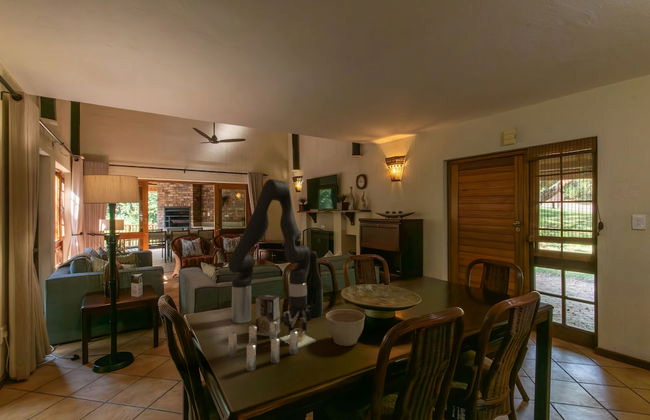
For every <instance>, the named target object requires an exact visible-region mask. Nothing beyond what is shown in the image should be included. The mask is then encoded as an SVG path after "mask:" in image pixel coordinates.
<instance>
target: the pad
mask: <svg viewBox="0 0 650 420" xmlns="http://www.w3.org/2000/svg"><path fill="white" fill-rule="evenodd" d="M279 341H281V342H283V341H284V342H283V343H285V344H287V343H288V345H289V346H290V335H289V334H288V335H285V336H281V337H279ZM316 342H317V339H315V338H312V337H310V336H308V335H306V334H305V339H304V340H303V341H299V342H298V349H300V348H303V347H305V346H308V345H311V344H313V343H316Z"/></svg>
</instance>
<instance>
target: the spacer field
mask: <svg viewBox="0 0 650 420" xmlns="http://www.w3.org/2000/svg"><path fill="white" fill-rule="evenodd" d="M257 336H258V335H257V326H256V324H255V325H250V326H248V344H247V345H246V371H247V372H253V371H255V370H256V368H257V366H256V363H257V359H256V358H257V357H256V356H257V352H256V351H257V347H258V345H257V344H258V337H257ZM270 342H271V343H270ZM269 343H270V363H271V364H278V363H279V362H280V337H278V334H277V321H271V322H270V336H269ZM298 349H299V348H298V331H296V330H292V331H290V345H289V354H290V355H292V356H294V355H297V354H298V353H299V352H298ZM237 350H238V332H236V331H230V332H229V333H228V357H236V356H237V355H238V351H237Z"/></svg>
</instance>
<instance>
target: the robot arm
mask: <svg viewBox="0 0 650 420" xmlns="http://www.w3.org/2000/svg"><path fill="white" fill-rule="evenodd" d="M273 201H278V202H279V204H280V207H281V216H280V223H279V224H280V231H281V233H282V236H283V240H284V257H285V258H286V261H288V263H290V264H296V266H295V267H294V268H291V269H290V270H289V276H288V277H289V285H288V306H289V309H288V310H287V311H283V312H282V318H283V324H284V327H287V328H288V335H290V331H292V330H294V329H295V328H294V327H295V324H296V322H297V320H298V319H300V321H301V323H300V324H301V327H300V328H301V329H304V330H305V333H306V332H307V328H308V327H307V325H308V322H310V321H311V319H312V317H311V313H312V307H311V306H306V304H307V285H306V275H307V272H308V268H309V261H310V252H311V250H310V248H309V247H308V246H307V245H303V244H300V245H296V242H298V241H299V240H300V239H301V233H300V231H299V227H298V224H297V222H296V218H295V213H294V209H293V202H292V195H291V190H290V186H289V184H288V183H287V182H285V181H282V180H279V179H278V180H277V179H272V178H270V179H267V180H266V181H265V183H264V184H263V186H262V188H261V191H260V194H259V197H258V199H257V202H256V205H255V208H253V209H254V210H253V212H252V214H251V216H250V219H248V223H247V225H246V226H245V229H244V230H243V231H244V232H243V233H242V235H241V237H240V239H239V242H238V243H237V244H236V247H235V248H234V249H233V251H232V252H231V254H230V257H229V259H228V261H227V262H228V264H227V265H228V266H227V267H228V269H229V271H230V272H231V273H233V274H238V275H237V276H236V277H235V278H233V279H232V280H231V281H232V282H231V322H232V323H234V324H245V323H249V322H250V321H251V320H252V280H253V277H254V259H253V258H254V257H253V256H252V254H251V253H249V252H250V251H251V250H252V249H253V248H254V247H255V246H256V245H257V244H258V243H259V242H260V241H262V239H263V238H264V236H265V234H266V232H267V230H268V227H269V225H270V224H269V222H270V221H269V215H268V212H269V208H270V205H271V203H272V202H273ZM305 311H306V314H305Z"/></svg>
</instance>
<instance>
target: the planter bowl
mask: <svg viewBox="0 0 650 420" xmlns="http://www.w3.org/2000/svg"><path fill="white" fill-rule="evenodd" d="M325 319H326V326H327V329H328V332H329V334H330V336H331V337H332V338H333V342H334V343H335V344H336V345H338V346H343V347H346V346H347V347H348V346H349V347H350V346H353V345H355V344H357V342H358V339H359V338H360V336H361V335H362V332H363V330H364V327H365V326H364V325H365V319H366V315H365V314H364V313H363V312H361V311H359V310H354V309H350V308H349V309H347V308H345V309H343V308H341V309H335V310H331V311H328V312H327V313H326V314H325Z"/></svg>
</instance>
